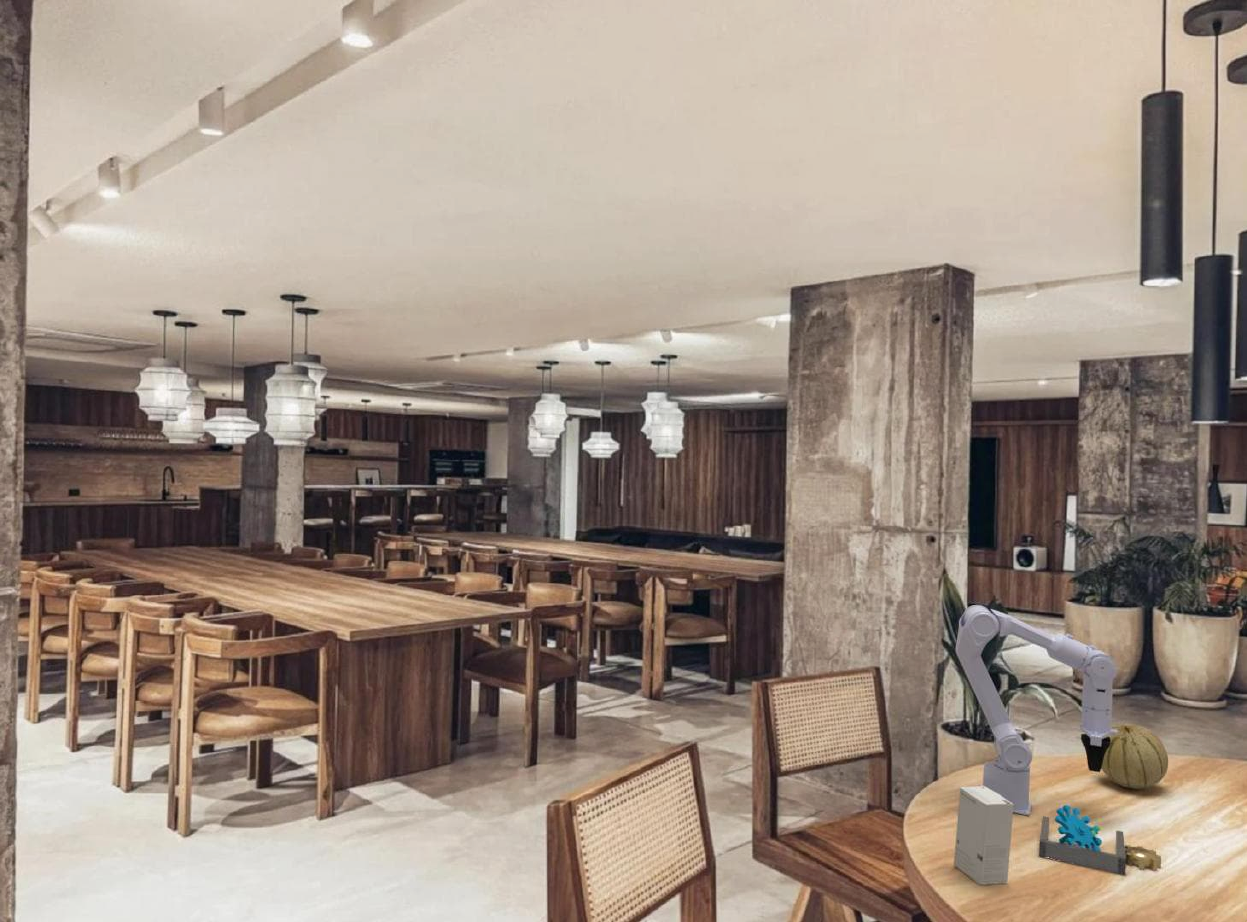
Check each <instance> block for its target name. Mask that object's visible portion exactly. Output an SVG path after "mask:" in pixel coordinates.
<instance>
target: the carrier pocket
mask: <svg viewBox="0 0 1247 922" xmlns="http://www.w3.org/2000/svg"><path fill="white" fill-rule="evenodd" d="M1049 834H1050V817H1049V816H1046V815H1045V816H1044V815H1043V816H1042V819H1041V828H1040V835H1039V844H1038V846H1039V847H1038V857H1039V856H1041V857H1040V858H1043V857H1049V858H1052V859H1055V860H1054V861H1057V860H1060V861H1059V862H1061V861H1062V863H1067V864H1070V863H1073V864H1072V865H1075V864H1076V865H1075V866H1080V867H1086V868H1090V869H1093V870H1099V871H1102V870H1103V872H1107V873H1108V872H1109V873H1113V874H1116V875H1122V876H1126V867H1127V866H1129V867H1130V866H1133V867H1136V868H1138V870H1141V871H1145V870H1151V871H1154V872H1156V871H1158V868H1159V869H1162V856H1161V855H1159V854H1157V851H1155V850H1154V849H1146V848H1144V846H1141V845H1137V846H1131V845H1130V844H1129V845H1128V844H1125V837H1124V836H1125V834H1124V831H1121V830H1116V831H1115V854H1114V853H1110V852H1106V851H1102V850H1101V851H1096V850H1091V849H1086V847H1084V848H1082V847H1079V846H1077V845H1068V844H1067V843H1060V842H1057V841H1052V840H1049ZM1052 859H1051V860H1052ZM1126 865H1127V866H1126Z"/></svg>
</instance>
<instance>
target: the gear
mask: <svg viewBox="0 0 1247 922" xmlns="http://www.w3.org/2000/svg"><path fill="white" fill-rule="evenodd" d="M1071 812H1072V814H1071ZM1055 813H1056V814H1057V815H1056V816H1055V817H1054V822H1055V823H1056V824H1059V825H1060V826H1058V827H1057V831H1058V834H1060V835H1063V836H1061V837H1060V838H1059V839H1058V841H1059V842H1058V843H1063V844H1067V845H1072V846H1074V844H1075V843H1076V844H1077V845H1078V847H1082V848H1086V849H1091V850H1096V851H1101V852H1102V850H1101V848H1100V847H1099V846H1101V845H1102V844H1103V840H1102V839H1101V838H1099V837H1097V836H1096V835H1098V834H1099V831H1101V830H1102V829H1101V828H1102V827H1101V826H1100V825H1099V824H1096V825H1094V826H1090V825H1088V824H1090V823H1091V822H1092V821H1091V819H1090V817H1089V816H1088V815H1085V816H1083V817H1081V818H1080V817H1079V816H1078V815H1080V814H1081V810H1080V809H1079V808H1077V807H1074V808H1073V809H1072V807H1071V806H1070V805H1067V804H1064V805H1063V806H1062V807H1059V808H1057V809H1056V810H1055Z"/></svg>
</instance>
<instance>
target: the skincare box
mask: <svg viewBox="0 0 1247 922" xmlns="http://www.w3.org/2000/svg"><path fill="white" fill-rule="evenodd" d="M958 800H959V801H958V809H957V820H956V821H957V823H956V834H955V845H954V846H955V847H954V855H953V856H954V857H953V859H954V860H953V864H954V865H953V866H955V867H956V868H957V869H958V870H960V871H962V872H963V873H964V874H966V876H968V877H970V878H972V880H973V881H974V882H976V883H977V884H979V886H987V884H991V885H999V884H998V883H1004V884H1007V883H1008V877H1009V868H1010V867H1009V863H1010V852H1011V841H1012V839H1011V838H1012V829H1013V818H1014V816H1013V815H1014V813H1013V805H1014V804H1013V803H1011V802H1009V801H1008V800H1006V799H1005V798H1003V797H1002V796H1001V795H1000V794H998V793H996V792H994V791H992V790H990V789H989V788H987V787H985V786H983V785H981V786H960V787H959V799H958ZM1006 882H1007V883H1006ZM996 883H997V884H996Z"/></svg>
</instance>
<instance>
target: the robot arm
mask: <svg viewBox="0 0 1247 922" xmlns="http://www.w3.org/2000/svg"><path fill="white" fill-rule="evenodd" d="M990 610H991V611H990ZM990 610H989V609H988V608H987V607H985V606H983V605H981V604H975V605H971V606H969V607H967V608H966V609H965V610H964V611H963V613H962V615H961V616H960V618H959V621H958V631H957V637H956V644H955V654H956V656H957V658H958V660H959V662H960V665H961V667H962V669H963V670H964V673H965V675H966V677H967V680H968V681H969V683H970V686H971V688H972V690H973V692H974V694H975V697H976V698H977V702H978V703H979V706H980V707H981V710H982V712H983V713H984V716H985V718H986V720H987V723H988V724H989V727H990V729H991V731H992V734H993V738H994V740H993V741H994V742H993V746H994V748H995V750H996V752H997V753H998V754H997V756H996V757H995V759H994V760H993V762H992V761H984V766H983V776H982V786H985V787H987V788H989V789H990V790H992V791H994V792H996V793H998V794H1000V795H1001V796H1002V797H1003V798H1005V799H1006V800H1008V801H1009V802H1011V803H1013V804H1014V805H1013V814H1018V815H1019V814H1020V815H1023V816H1024V815H1025V816H1030V815H1031V809H1032V802H1031V801H1030V782H1031V781H1030V780H1031V779H1030V778H1031V777H1030V776H1031V766H1030V765H1031V763H1032V760H1033V753H1032V751H1031V749H1030V747H1029V746H1028V745H1027V744H1026V743H1025V740H1024V738H1023V737H1022V735H1021V734H1020V733H1019V732H1017V730H1016V728H1015V727H1014V724H1013V722H1012V720H1011V719H1010V716H1009V713H1008V712H1007V710H1006V709H1007V708H1006V707H1005V706H1004V704H1003V701H1002V699H1001V696H1000V695H999V692H998V690H997V688H996V686H995V684H994V682H993V679H992V677H991V676H990V673H989V671H988V669H987V667H986V665H985V663H984V661H983V658H982V656H981V655H982V652H983V651H984V648H985V646H986V645H987V643H989V642H990V641H991V640H992V639H993V638H994V637H995V636H996V635H998V636H999V637H1005V636H1010V635H1011V636H1015V637H1017V638H1020V640H1024V641H1025V642H1026V641H1027V642H1029V643H1031V644H1033V645H1036V646H1038V647H1040V648H1043V649H1045V650H1046V651H1047V654H1048V657H1049V658H1051V659H1052V660H1055V661H1057V662H1059V663H1061V664H1064V665H1066V666H1068V667H1070V668H1072V669H1074V670H1077V671H1081V672H1082V671H1083V678H1082V679H1083V681H1082V682H1083V683H1082V693H1081V694H1082V696H1081V699H1082V700H1081V718H1080V719H1081V721H1080V722H1081V723H1080V725H1079V730H1080V731H1081V732H1083V733H1081V735H1080V740H1081V744H1082V745H1083V747H1084V750H1085V751H1084V752H1085V753H1086V754H1085V755H1086V762H1087V768H1088V770H1089V771H1091V772H1096V773H1100V772H1101V770H1102V769H1101V768H1102V763H1103V759H1104V755H1105V753H1106V751H1107V749H1108V748H1109V746H1110V744H1111V742H1110V741H1111V739H1110V737H1108V736H1110V735H1117V730H1115V729H1111V727H1112V721H1113V720H1112V719H1113V718H1112V717H1113V716H1112V715H1113V692H1114V691H1113V690H1114V689H1113V680H1114V679H1115V677H1116V676H1117V674H1118V671H1119V669H1118V668H1117V665H1116V661H1114V659H1113V658H1112V657H1110V656H1109V655H1108V654H1107V653H1105V652H1104V651H1101V650H1100V649H1099V648H1098V647H1096V646H1094V645H1092V644H1089V645H1087V644H1085V643H1083V642H1081V641H1078V640H1077V639H1074V636H1073V635H1072V634H1070V633H1066V634H1063V633H1057V634H1053V635H1050V634H1049V633H1046V632H1045V631H1042V630H1040V629H1037V628H1036V627H1034V626H1032V625H1029V624H1028V623H1026V622H1024V621H1022V620H1020V619H1018V618H1016V617H1013V616H1012V615H1009V614H1006V613H1004V612H1002V611H1001V612H1000V611H998V610H996V609H992V608H990Z"/></svg>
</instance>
